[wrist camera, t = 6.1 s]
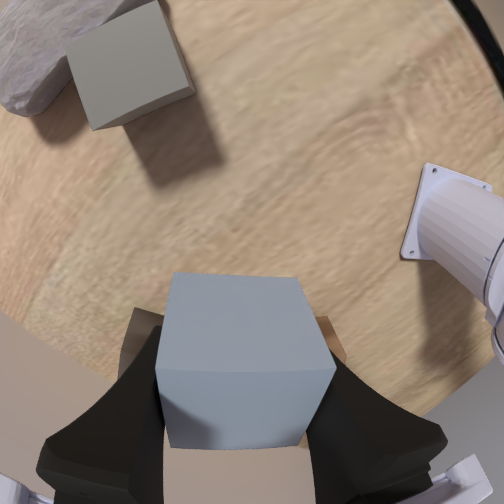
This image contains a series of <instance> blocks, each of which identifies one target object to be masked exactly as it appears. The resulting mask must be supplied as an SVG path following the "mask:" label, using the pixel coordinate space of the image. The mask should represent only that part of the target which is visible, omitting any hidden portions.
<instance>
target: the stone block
mask: <svg viewBox="0 0 504 504" xmlns="http://www.w3.org/2000/svg"><path fill="white" fill-rule="evenodd" d="M152 1H155V0H10V2H9V3H8V4H7V5H6V7H5V8H4V10H3V12H2V13H1V14H0V103H1V105H2V106H4V107H5V109H6V110H7V111H9V112H11V113H13V114H17V115H20V116H23V117H29V116H31V115H38V114H40V113H42V112H43V111H45V110H46V109H47V108H48V107H49V105H50V104H51V103H52V102H53V101H54V99H55V98H56V97H57V96H58V94H59V93H60V92H61V91H62V90H63V88H64V87H65V86H66V85H67V84H68V82H69V81H70V80H71V79H72V78H73V75H72V72H71V68H70V65H69V62H68V59H67V55H66V52H65V48H64V47H66V46H67V45H69V44H71V43H72V42H74V41H75V40H77V39H79V38H80V37H82V36H84V35H85V34H87V33H89V32H91V31H92V30H94V29H96V28H98V27H99V26H101V25H103V24H105V23H107V22H109V21H111V20H113V19H115V18H117V17H119V16H121V15H123V14H125V13H127V12H129V11H131V10H134V9H136V8H138V7H140V6H143V5H145V4H148V3H150V2H152Z"/></svg>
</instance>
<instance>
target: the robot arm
mask: <svg viewBox="0 0 504 504" xmlns="http://www.w3.org/2000/svg"><path fill="white" fill-rule="evenodd" d="M433 169H434V172H433ZM411 251H412V252H411ZM410 252H411V253H410ZM400 253H401V256H402V257H403V258H408V259H424V260H435V261H436V262H438V263H439V264H440V265H441V266H442V267H443V268H445V269H446V270H447V271H448V272H449V273H450V274H451V275H453V276H454V277H455V278H456V279H457V280H458V281H459V282H460V283H461V284H462V285H464V286H465V287H466V288H467V289H468V290H469V291H470V292H471V293H472V294H473V295H474V296H475V297H476V298H477V299H478V300H479V301H481V302H482V303H483V304H484V305H485V306H486V307H487V311H486V315H485V319H486V320H487V321H488V322H489V323H490V324H491V325H492V326H493V329H492V333H491V344H492V348H493V351H494V353H495V355H496V357H497V358H498V360H499V361H500V363H501V364H502V365H503V366H504V198H502V197H500V196H498V195H495V194H493V193H492V186H491V185H490V184H487V183H485V182H482V181H480V180H477V179H475V178H472V177H469V176H466V175H464V174H461V173H458V172H455V171H452V170H449V169H447V168H444V167H441V166H437V165H434V164H431V163H426V164H425V165H424V167H423V171H422V176H421V180H420V184H419V188H418V192H417V196H416V200H415V204H414V208H413V212H412V215H411V219H410V222H409V226H408V229H407V233H406V236H405V239H404V242H403V245H402V249H401V252H400ZM409 253H410V254H409ZM162 327H163V326H159V325H156V326H154V327H153V329H152V331H151V333H150V335H149V336H148V338H147V340H146V342H145V343H144V345H143V346H142V348H141V349H140V351H139V352H138V354H137V355H136V357H135V358H134V360H133V361H132V362H131V364H130V365H129V366H128V368H127V369H126V370H125V372H124V373H123V374H122V375H121V377H120V378H119V379H118V380H117V381H116V383H115V384H114V385H113V386H112V387H111V388H110V390H108V392H107V393H105V395H104V396H103V397H101V398H100V399H99V400H98V401H97V402H96V403H95V404H94V405H93V406H92V407H91V408H90V409H89V410H87V411H86V412H85V413H84V414H82V415H81V416H80V417H78V418H77V419H76V420H74V421H73V422H72V423H71V424H69V425H68V426H66V427H65V428H63V429H62V430H60V431H58V432H57V433H55V434H54V435H52V436H50V437H49V438H47V439H46V441H45V443H44V445H43V447H42V450H41V452H40V456H39V460H38V464H37V467H36V472H37V474H38V476H39V477H40V478H41V479H43V480H44V481H45V482H46V483H48V484H49V485H50V486H51V487H52V488H54V489H55V490H56V491H55V497H54V499H51V498H49V497H46V496H43V495H41V494H38V493H36V492H33V491H31V490H29V489H28V488H27V487H26V486H25V485H23V484H22V483H20V482H18V481H16V480H14V479H12V478H10V477H8V476H6V475H4V474H2V473H0V504H164V498H163V443H164V430H165V420H164V415H163V410H162V405H161V400H160V394H159V388H158V382H157V376H156V370H155V366H156V360H157V354H158V348H159V343H160V337H161V332H162ZM328 349H329V348H328ZM329 351H330V353H331V356H332V358H333V360H334V362H335V365H336V367H337V368H336V371H335V373H334V375H333V377H332V379H331V381H330V383H329V386H328V388H327V390H326V392H325V394H324V396H323V398H322V400H321V402H320V404H319V406H318V408H317V410H316V412H315V414H314V416H313V418H312V420H311V422H310V423H309V425H308V427H307V429H306V434H307V438H308V444H309V450H310V456H311V462H312V469H313V477H314V486H315V497H316V504H477V503H479V502H480V501H482V500H483V499H484V498H486V497H487V496H488V495H490V494H491V493H492V492H493V489H492V487H491V485H490V483H489V481H488V479H487V477H486V475H485V473H484V471H483V469H482V467H481V465H480V463H479V462H478V460H477V458H476V456H475V454H471V455H469V456H467V457H466V458H464V459H462V460H460V461H458V462H457V463H455V464H454V465H452V466H451V467H450V468H448V469H447V470H446V472H444V473H442V474H440V475H438V476H436V477H434V478H432V479H431V478H430V476H429V474H428V471H429V470H431V467H430V465H429V462H430V461H431V460H432V459H433V458H434V457H436V456H437V455H438V454H439V453H440V452H441V451H442V450H443V449H444V448H445V447H446V445H447V443H448V440H447V438H446V436H445V434H444V432H443V431H442V429H441V427H440V426H439V425H438V424H436V423H433V422H431V421H428V420H425V419H423V418H421V417H418V416H416V415H414V414H412V413H410V412H408V411H406V410H404V409H402V408H401V407H399V406H397V405H395V404H394V403H392V402H391V401H389V400H387V399H386V398H384V397H383V396H381V395H380V394H378V393H377V392H376V391H374V390H373V389H372V388H370V387H369V386H368V385H367V384H365V383H364V382H363V381H362V380H361V379H359V378H358V377H357V376H356V375H355V374H354V373H353V372H352V371H351V370H350V369H349V368H347V367H346V366H345V365H344V364H343V363H342V362H341V361H340V360H339V358H338V357H337V356H336V355H335V354H334V353H333V352H332V351H331V350H330V349H329Z"/></svg>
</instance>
